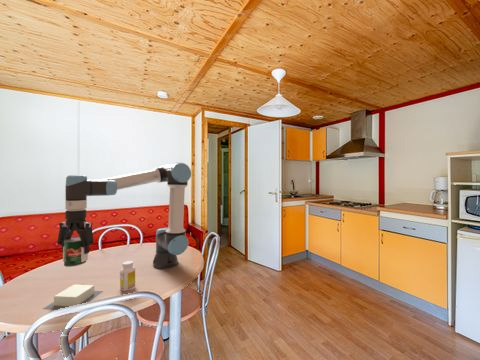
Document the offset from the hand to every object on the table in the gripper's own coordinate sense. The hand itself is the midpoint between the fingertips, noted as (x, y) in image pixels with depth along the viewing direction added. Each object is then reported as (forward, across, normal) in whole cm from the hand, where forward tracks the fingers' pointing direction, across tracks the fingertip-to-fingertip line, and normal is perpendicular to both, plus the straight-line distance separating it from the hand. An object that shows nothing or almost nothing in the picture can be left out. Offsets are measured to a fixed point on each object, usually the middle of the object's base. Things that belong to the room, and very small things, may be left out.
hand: (75, 260), depth 93 cm
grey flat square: (+18, 0, 0) cm, 18 cm away
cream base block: (+17, 0, 0) cm, 17 cm away
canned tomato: (+1, 0, 0) cm, 1 cm away
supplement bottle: (+18, +17, +12) cm, 28 cm away
